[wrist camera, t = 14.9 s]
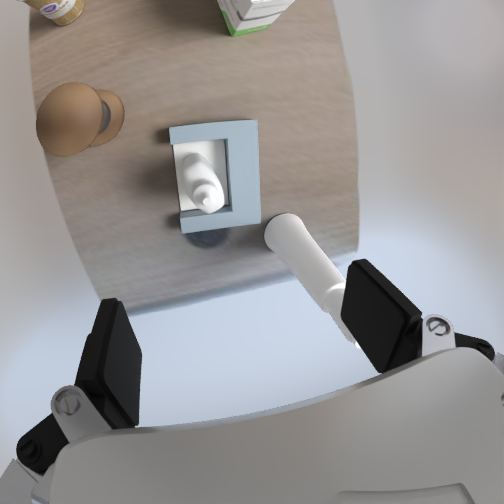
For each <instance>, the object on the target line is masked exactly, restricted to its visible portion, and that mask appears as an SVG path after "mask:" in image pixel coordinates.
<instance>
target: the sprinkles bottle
mask: <svg viewBox="0 0 504 504" xmlns="http://www.w3.org/2000/svg"><path fill="white" fill-rule="evenodd" d="M17 1H23V2H25V3H26V4H27V5H29V6H31V7H32V8H34V9H36V10H37V11H38V12H39V13H41V14H42V15H44V16H46V17H47V18H49V19H52V20H53V21H55V23H56V24H57V25H67V24H70V23H72V22H73V21H75V20H76V19H77V18H78V17H79V16H80V14H81V13H82V11H83V8H84V2H83V0H17Z"/></svg>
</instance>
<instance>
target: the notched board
mask: <svg viewBox="0 0 504 504" xmlns="http://www.w3.org/2000/svg"><path fill="white" fill-rule="evenodd" d="M169 132H170V143H171V145H173V148H174V157H175V167H176V175H177V184H178V192H179V199H180V207H181V211H183V210H191V209H198V207H197V206H196V205H195V204H194V203H193V202H192V201H191V200H190V198H189V197H188V195H187V193H186V191H185V188H184V185H183V180H182V162H183V160H184V159H185V158H186V157H188V156H190V155H192V154H193V153H199V154H200V155H202V156H203V157H204V158H205V159H206V160H207V161H208V162H209V163H210V165H211V166H212V168H213V170H214V172H215V174H216V176H217V177H218V179H219V181H220V184H221V186H222V189H223V193H224V205H229V203H230V205H229V206H222V208H220V209H218V210H217V211H215V212H213V213H210V214H208V213H205V212H203V211H202V210H200V209H198V210H191V211H183V212H180V223H181V229H182V234H183V233H190V232H197V231H205V230H212V229H219V228H227V227H234V226H242V225H250V224H258V223H261V208H260V179H259V153H258V128H257V120H236V121H222V122H210V123H200V124H191V125H183V126H176V127H170V128H169ZM224 139H225V145H226V160H227V175H228V189H229V202H228V189H227V175H226V161H225V145H224Z"/></svg>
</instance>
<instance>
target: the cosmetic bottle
mask: <svg viewBox="0 0 504 504" xmlns="http://www.w3.org/2000/svg"><path fill="white" fill-rule="evenodd" d="M264 238H265V242H266V244H267V246H268V247H269V248H270V249H271V250H273V251H274V252H275V253H276V254H277V255H278V256H279V257H280V258H281V259H282V260H283V261H284V262H285V264H286V265H287V266H288V267H289V268H290V270H291V271H292V272H293V274H294V275H295V276H296V277H297V279H298V280H299V281H300V283H301V284H302V285H303V287H304V288H305V289H306V290H307V292H308V293H309V294H310V296H311V297H312V298H313V300H314V301H315V302H316V303H317V305H318V306H319V307H320V308H321V309H322V310H323V311H324V312H327V313H329V314H330V315H331V317H332V318H333V320H334V321H335V322H336V324H337V325H338V327H339V328H340V330H341V331H342V333H343V334H344V336H345V337H346V339H347V340H348V341H350V342H353V343H354V344H355V346H356V347H357V348H361V347H360V346H359V344H358V343H357V341H356V340H355V338H354V337H353V336H352V334H351V333H350V331H349V330H348V328H347V327H346V326H345V324H344V323H343V321H342V320H341V316H340V313H341V307H342V302H343V296H344V290H345V284H346V280H345V279H344V278H343V276H342V275H341V274H340V272H339V271H338V270H337V268H336V267H335V266H334V265H333V263H332V262H331V261H330V260H329V258H328V257H327V256H326V255H325V254H324V252H323V251H322V250H321V249H320V247H319V246H318V245H317V244H316V242H315V241H314V240H313V238H312V237H311V236H310V234H309V233H308V231H307V230H306V228H305V226H304V224H303V222H302V221H301V219H300V218H299V217H297V216H296V215H293V214H289V213H286V214H280V215H278V216H276V217H274V218H273V219H272V220H271V221H270V222H269V223H268V225H267V226H266V229H265V233H264Z"/></svg>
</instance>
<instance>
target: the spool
mask: <svg viewBox="0 0 504 504" xmlns="http://www.w3.org/2000/svg"><path fill="white" fill-rule="evenodd" d="M123 121H124V107H123V104H122V102H121V100H120V99H119V98H118V96H116V95H115V94H114V93H112V92H109V91H106V90H94V89H93V88H92V87H90V86H88V85H86V84H83V83H78V82H70V83H65V84H62V85H60V86H58V87H57V88H55V89H54V90H53V91H51V92H50V93H49V94H48V95H47V97H46V98H45V99H44V101H43V102H42V104H41V106H40V109H39V111H38V115H37V120H36V131H37V136H38V139H39V141H40V143H41V145H42V146H43V148H44V149H45V150H46V151H48V152H49V153H51V154H53V155H55V156H60V157H67V156H71V155H74V154H77V153H79V152H81V151H83V150H84V149H86V148H87V147H88V146H97V145H101V144H104V143H106V142H108V141H110V140H111V139H113V138H114V137H115V136H116V135H117V133H118V132H119V130H120V129H121V127H122V124H123Z"/></svg>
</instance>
